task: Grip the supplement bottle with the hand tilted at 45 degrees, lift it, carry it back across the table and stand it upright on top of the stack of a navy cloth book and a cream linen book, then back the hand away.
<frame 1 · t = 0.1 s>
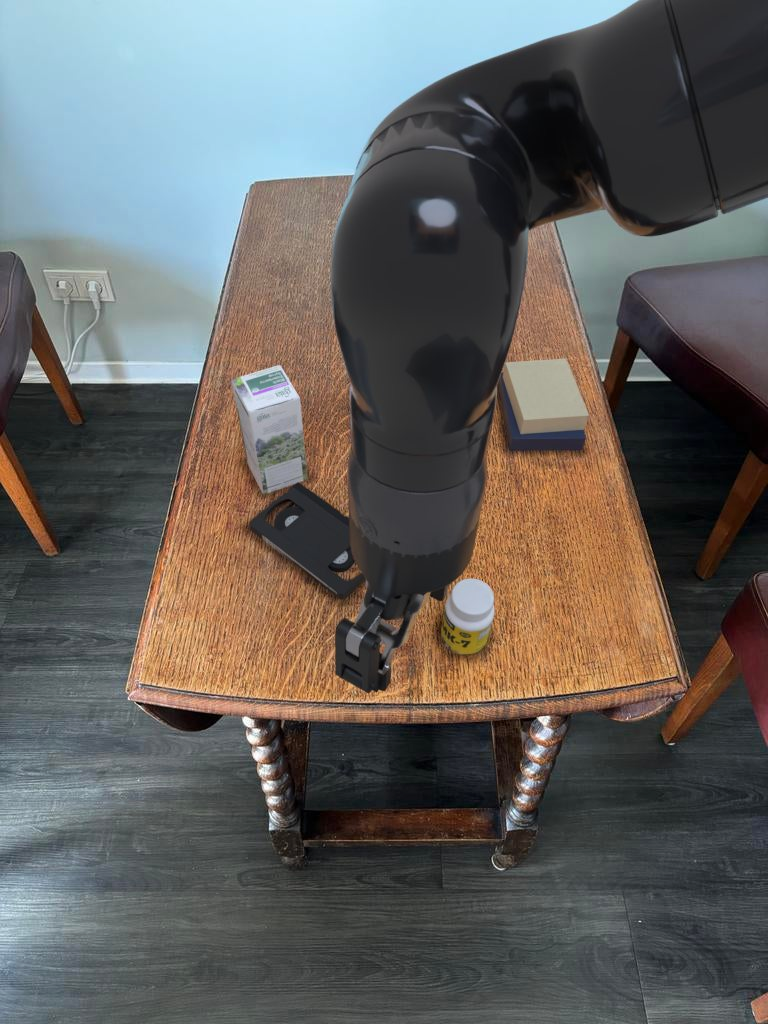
hand: (404, 635, 53), 19 cm above the table, tool pointing down, fingers open, 8 cm apart
syrup box: (278, 476, 87), on the table
vhs tape: (319, 546, 81), on the table
supplement bottle: (463, 639, 74), on the table
book stack: (537, 420, 93), on the table
cup: (394, 430, 92), on the table
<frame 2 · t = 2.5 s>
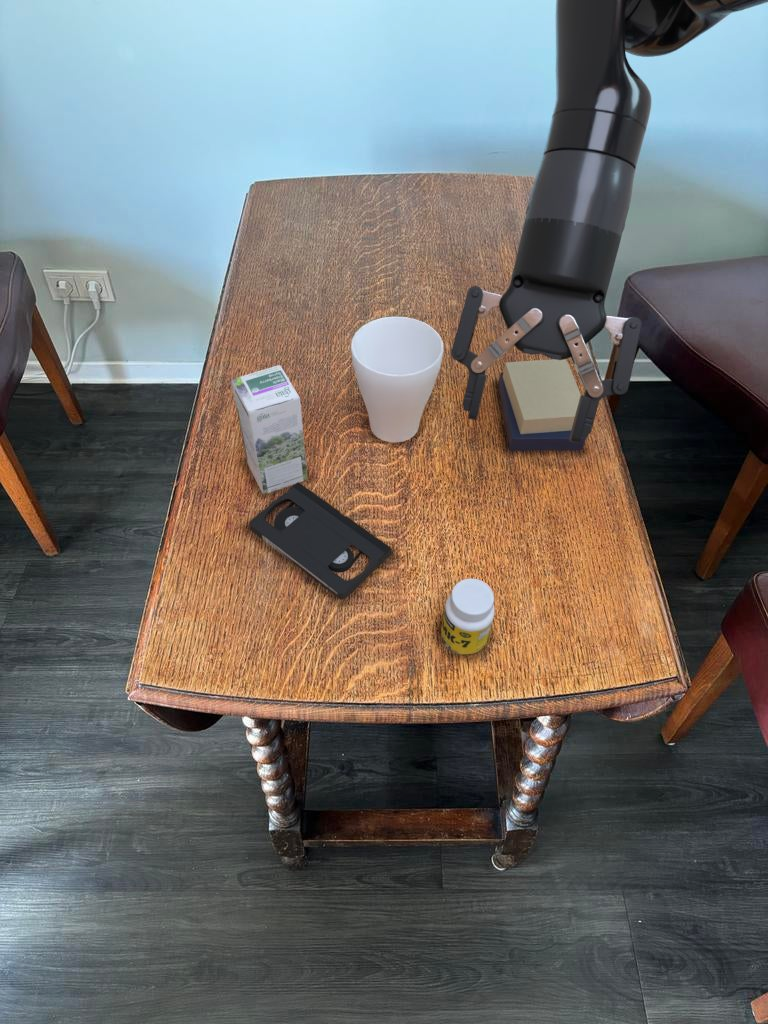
hand: (523, 430, 60), 23 cm above the table, tool tilted 40°, fingers open, 8 cm apart
nothing on the table moved.
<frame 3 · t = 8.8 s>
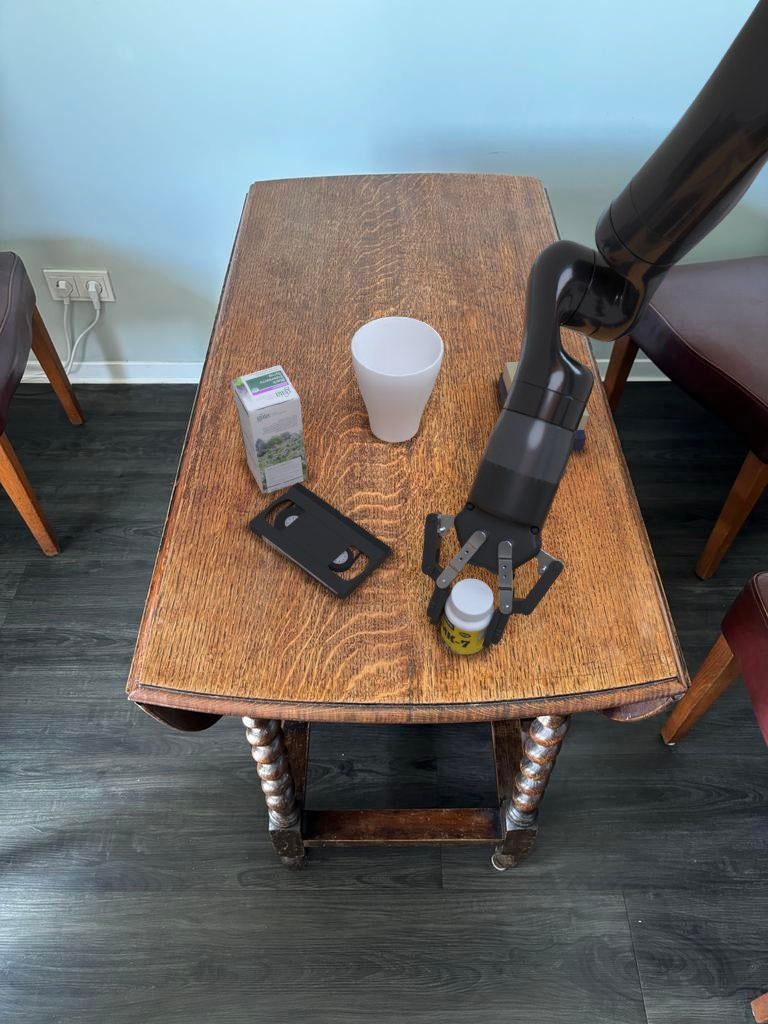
hand: (460, 633, 70), 4 cm above the table, tool tilted 45°, fingers closed on supplement bottle, 4 cm apart
supplement bottle: (463, 639, 74), on the table, touching gripper
everything else where it was.
when the fingers open (10 cm above the table, at t = 20.2 s): supplement bottle stays where it is, resting on book stack.
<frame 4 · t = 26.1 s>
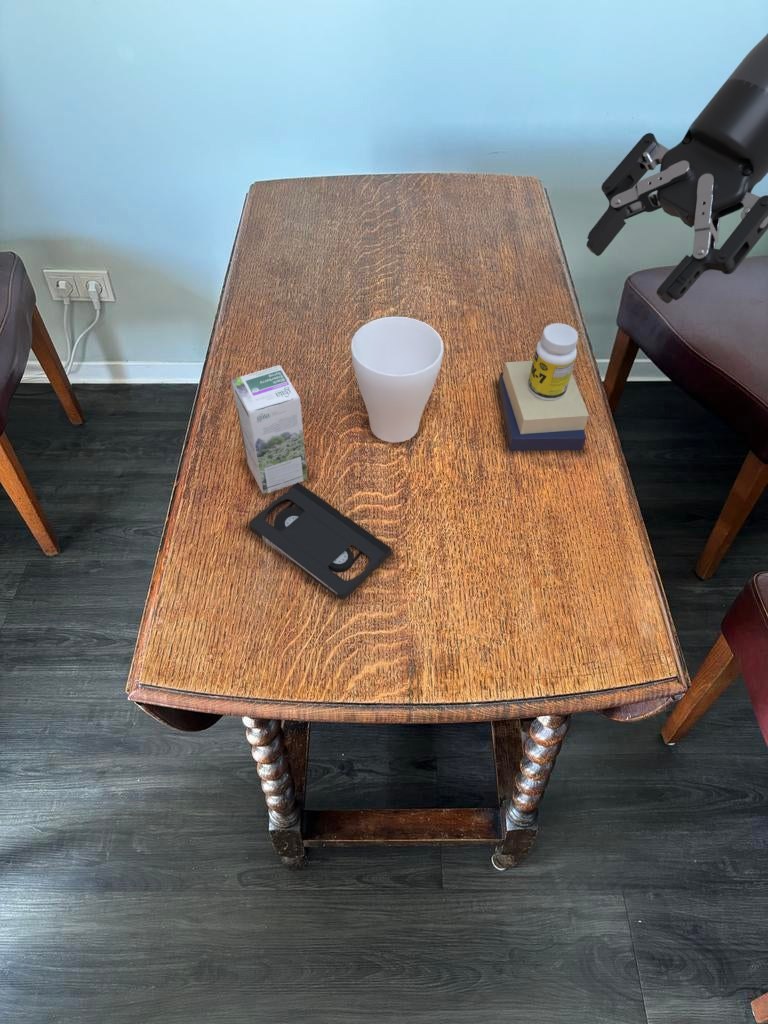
hand: (625, 274, 64), 29 cm above the table, tool tilted 45°, fingers open, 8 cm apart
supplement bottle: (546, 389, 89), point 5 cm above the table, touching book stack
everything else where it was.
at the end: supplement bottle inside the target area on the book stack (0.1 cm from its centre), point 5.3 cm above the book stack's base; supplement bottle tilted 0°; the gripper is holding nothing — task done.
